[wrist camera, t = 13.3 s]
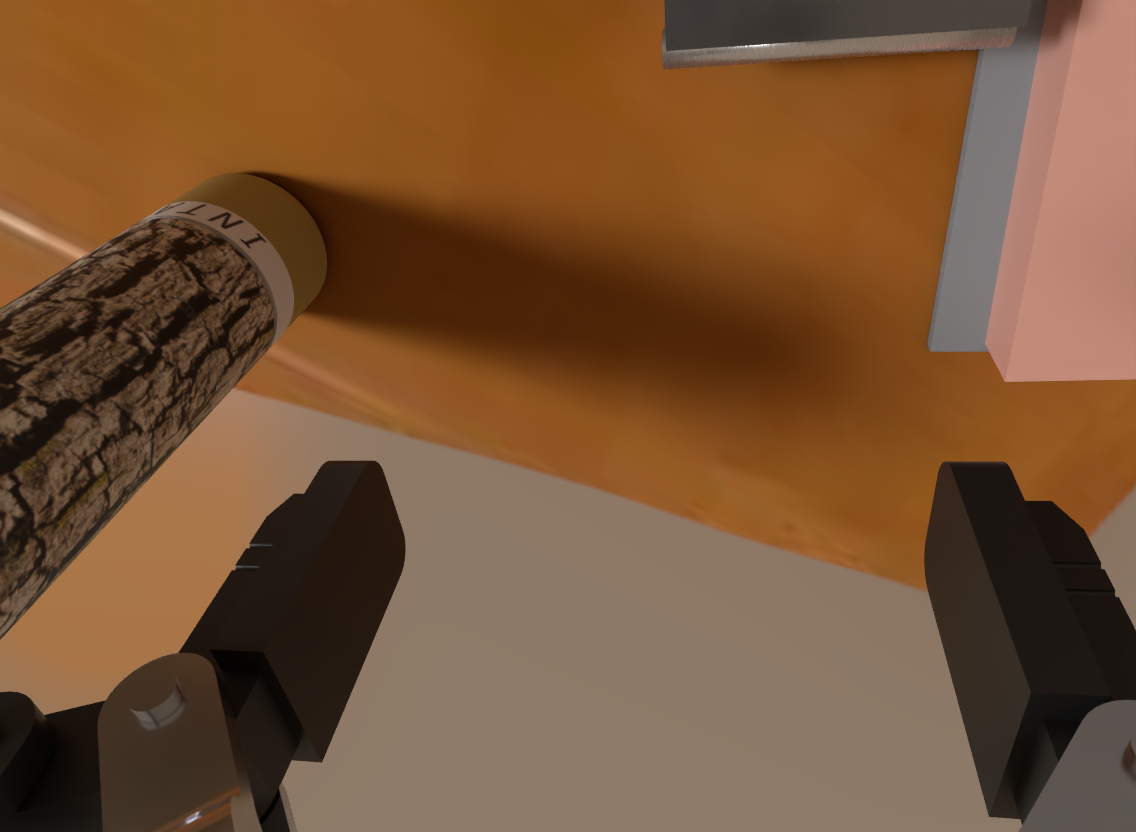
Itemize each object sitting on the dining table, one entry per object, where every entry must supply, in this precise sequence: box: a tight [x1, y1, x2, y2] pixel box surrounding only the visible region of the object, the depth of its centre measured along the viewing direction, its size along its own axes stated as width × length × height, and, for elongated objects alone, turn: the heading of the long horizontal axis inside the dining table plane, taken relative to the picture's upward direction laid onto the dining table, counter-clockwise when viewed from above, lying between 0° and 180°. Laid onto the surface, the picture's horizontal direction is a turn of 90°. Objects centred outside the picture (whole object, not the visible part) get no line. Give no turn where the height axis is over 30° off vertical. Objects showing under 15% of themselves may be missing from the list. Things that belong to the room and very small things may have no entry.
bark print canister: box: [0, 173, 327, 639], centre depth 27 cm, size 7×7×25 cm
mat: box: [927, 0, 1047, 351], centre depth 30 cm, size 15×9×1 cm, turn 5°
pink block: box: [985, 0, 1136, 382], centre depth 28 cm, size 14×5×3 cm, turn 7°
